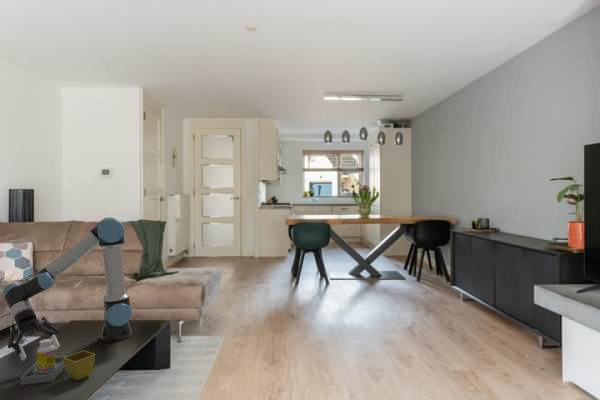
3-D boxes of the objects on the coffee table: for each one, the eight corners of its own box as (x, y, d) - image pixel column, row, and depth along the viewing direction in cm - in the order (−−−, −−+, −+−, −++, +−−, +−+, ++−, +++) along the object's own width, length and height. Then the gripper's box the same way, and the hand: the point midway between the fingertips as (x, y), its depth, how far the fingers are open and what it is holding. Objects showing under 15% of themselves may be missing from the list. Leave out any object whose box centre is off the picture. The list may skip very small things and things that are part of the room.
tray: (68, 361, 180) (68, 355, 180) (52, 381, 160) (52, 374, 160) (39, 364, 177) (39, 358, 177) (20, 385, 157) (20, 378, 157)
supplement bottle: (46, 374, 165) (46, 344, 165) (33, 373, 166) (32, 343, 166) (59, 367, 172) (58, 338, 171) (46, 366, 173) (45, 337, 173)
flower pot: (74, 384, 158) (74, 361, 158) (63, 379, 162) (62, 357, 162) (96, 375, 165) (95, 354, 165) (84, 370, 170) (84, 350, 170)
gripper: (49, 311, 189) (67, 348, 181) (-13, 326, 167) (5, 369, 160) (55, 302, 186) (74, 339, 179) (-7, 316, 164) (12, 358, 157)
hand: (42, 353), depth 169 cm, fingers open, 13 cm apart
